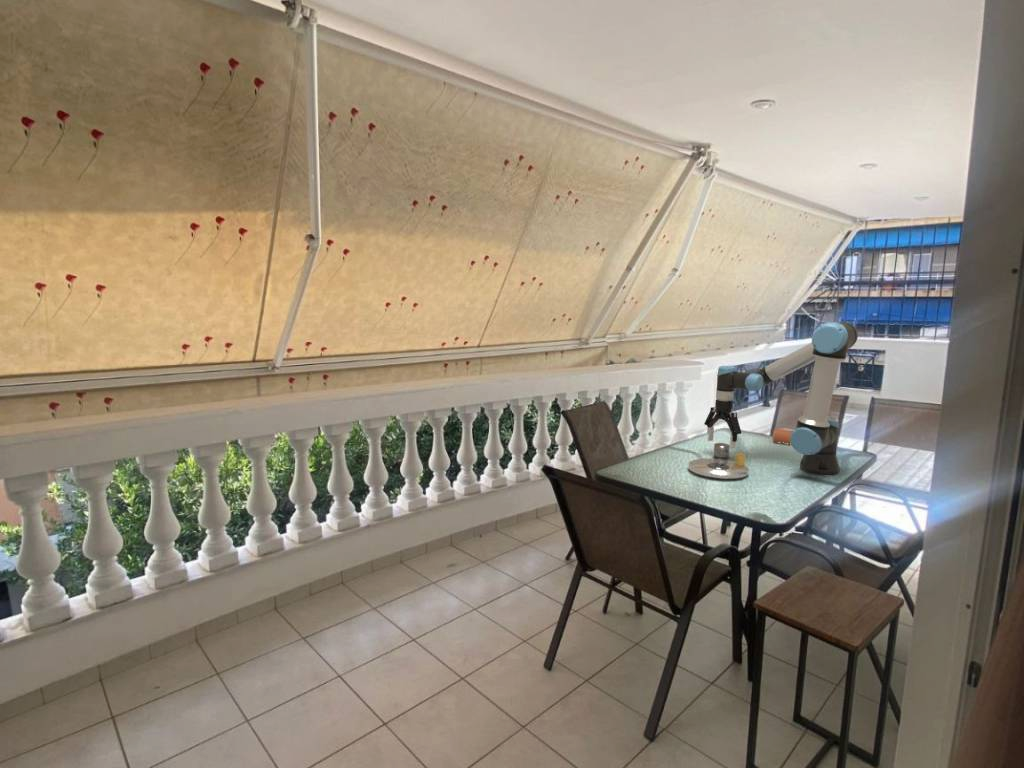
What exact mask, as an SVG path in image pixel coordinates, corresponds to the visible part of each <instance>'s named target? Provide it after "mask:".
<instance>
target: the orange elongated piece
mask: <svg viewBox="0 0 1024 768" xmlns="http://www.w3.org/2000/svg"><path fill="white" fill-rule="evenodd" d="M793 431H794V430H788V429H782V428H775V430H774V432H773V436H772V443H773V442H781V443H783V442H784V443H788V444H790V436H791V433H792V432H793Z"/></svg>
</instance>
